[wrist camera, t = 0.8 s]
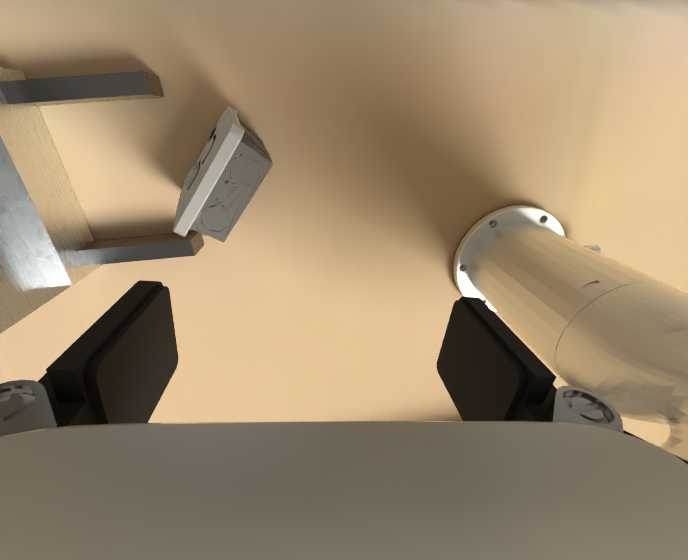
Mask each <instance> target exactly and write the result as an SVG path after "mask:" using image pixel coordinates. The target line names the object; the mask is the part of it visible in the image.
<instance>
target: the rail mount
mask: <svg viewBox="0 0 688 560" xmlns="http://www.w3.org/2000/svg"><path fill="white" fill-rule="evenodd" d="M156 97H164V94H163V91H162V87H161V83H160V79H159V77H158V76H155V75H152V74H148V73H145V72H131V73H116V74H102V75H87V76H73V77H58V78H44V79H29V80H27V79H26V77H25V74H24V72H23V71H18V70H12V69H7V68H1V67H0V333H2V332H3V331H5V330H6V329H8V328H9V327H11V326H12V325H14V324H15V323H17V322H18V321H20V320H21V319H23V318H24V317H26V316H27V315H29V314H30V313H32V312H33V311H34V310H36V309H37V308H39V307H40V306H42V305H43V304H45V303H46V302H48V301H49V300H51V299H52V298H54V297H55V296H57V295H58V294H60V293H61V292H63V291H64V290H66V289H67V288H68V287H70V286H71V285H73V284H75V283H76V282H78V281H79V280H81V279H82V278H84V277H85V276H86V275H88V274H89V273H91V272H92V271H94V270H95V269H97V268H98V267H100V266H101V265H103V264H109V263H120V262H130V261H141V260H152V259H163V258H173V257H184V256H195V255H196V254H197V252H198V251H199V250H200V249H201V248H202V247H203V246H204V242H203V239H202V235H201V234H200V233H199V232H197V231H196V232H187V234H186V236H181V235H179V234H177V233H174V234H162V235H151V236H140V237H129V238H118V239H107V240H96V241H95V240H94V238H93V236H92V233H91V231H90V229H89V226H88V224H87V221H86V219H85V217H84V214H83V212H82V210H81V207H80V205H79V202H78V200H77V198H76V195H75V193H74V191H73V188H72V186H71V183H70V181H69V179H68V176H67V174H66V172H65V169H64V167H63V165H62V162H61V160H60V157H59V155H58V153H57V150H56V148H55V146H54V143H53V141H52V138H51V136H50V134H49V131H48V129H47V127H46V124H45V122H44V119H43V117H42V115H41V112H40V110H39V108H38V106H46V105H59V104H73V103H87V102H101V101H115V100H129V99H143V98H156Z"/></svg>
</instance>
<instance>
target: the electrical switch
mask: <svg viewBox="0 0 688 560" xmlns="http://www.w3.org/2000/svg"><path fill="white" fill-rule="evenodd" d="M237 114H238V111H237V110H235V109H233V108H232V107H230V106H228V107H227V108H226V110H225V111H224V112H223V114H222V115H221V117H220V119H219V121H218V123H217V125H216V127H215V128H214V130H213V132H212V134H211V136H210V138H209V140H208V141H207V143H206V145H205V147H204V149H203V151H202V152H201V154H200V156H199V158H198V160H197V162H196V164H195V165H194V166H192V168H191V169H190V171H189V172H188V174H187V176H186V178H185V179H184V182H183V184H184V186H183V188H182V191H181V194H180V198H179V202H178V207H177V211H176V216H175V222H174V227H173V232H175V233H177V234H179V235H181V236H186V234H187V232H188V231H189V229H191V230H194V231H197V232H199V233H200V234H203V235H208V236H211V237H213V238H215V239H217V240H220V241H222V242H224V241H225V240H226V238H227V236H228V235H229V233H230V232H231V230H232V228H233V227H234V225H235V224H236V222H237V220H238V219H239V217H240V216H241V214H242V212H243V211H244V209H245V208H246V206H247V204H248V203H249V201H250V200H251V198H252V197H253V195H254V193H255V192H256V190H257V189H258V187H259V185H260V184H261V182H262V181H263V179H264V177H265V176H266V174H267V173H268V171H269V169H270V168H271V166H272V165H273V164H272V163H273V162H272V160H271V158H270V156H269V154H268V152H267V150H266V148H265V146H264V144H263V142H262V140H261V139H259V138H258V137H256V136H255V135H254V134H252V133H251V132H250V131H251V130H249V129H247V128H245V127H244V126H242V125H241V124H240V122H239V119H238V116H237ZM260 155H261V156H260ZM263 157H264V158H263ZM265 158H266V159H267V160H266V159H265ZM268 160H269V161H271V162H272V163H271V162H269V161H268ZM234 184H237V185H239V186H234ZM223 204H225V205H226V206H225V205H223ZM228 225H229V226H228Z"/></svg>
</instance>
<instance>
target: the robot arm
mask: <svg viewBox="0 0 688 560" xmlns="http://www.w3.org/2000/svg"><path fill="white" fill-rule="evenodd" d="M490 221H491V222H490ZM461 265H462V266H461ZM453 274H454V280H455V283H456V286H457V288H458V289H459V291H460V293H461V294H462V295H463V296H464V297H461V298H460V299H459V300H457V301H455V303H454V305H453V308H452V312H451V315H450V319H449V322H448V326H447V329H446V333H445V336H444V340H443V343H442V347H441V350H440V354H439V357H438V361H437V371H438V373H439V375H440V377H441V379H442V381H443V383H444V385H445V387H446V389H447V391H448V393H449V395H450V396H451V398H452V400H453V402H454V404H455V406H456V408H457V410H458V412H459V414H460V416H461V418H462V420H463V421H348V422H198V423H148V421H149V419H150V417H151V415H152V413H153V411H154V409H155V407H156V406H157V404H158V402H159V400H160V398H161V396H162V394H163V392H164V390H165V388H166V387H167V385H168V383H169V381H170V379H171V377H172V375H173V373H174V371H175V369H176V367H177V364H178V352H177V344H176V337H175V330H174V322H173V315H172V307H171V300H170V293H169V289H168V287H166V286H163V285H162V283H161V282H158V281H138V282H137V283H136V284H135V285H134V286H133V287H132V288H130V289H129V290H128V291H127V292H126V293H125V294H124V295H123V296H122V297H121V298H120V299H119V300H118V301H117V302H116V303H115V304H114V305H113V306H112V307H111V308H110V309H109V310H108V311H107V312H105V313H104V314H103V315H102V316H101V317H100V318H99V319H98V320H97V321H96V322H95V323H94V324H93V325H92V326H91V327H90V328H89V329H88V330H87V331H86V332H85V333H84V334H83V335H81V336H80V337H79V338H78V339H77V340H76V341H75V342H74V343H73V344H72V345H71V346H70V347H69V348H68V349H67V350H66V351H65V352H64V353H63V354H62V355H61V356H60V357H59V358H58V359H56V360H55V361H54V362H53V363H52V364H51V365H50V366H49V367H48V368H47V369H46V371H47V373H46V374H45V375H44V376H43V377H42V378H41V379H40V380H39V381H38V382H36V381H33V380H17V381H9V382H5V383H2V384H0V560H688V294H686V293H684V292H682V291H680V290H678V289H676V288H673V287H671V286H669V285H667V284H665V283H663V282H660V281H658V280H656V279H654V278H652V277H650V276H647V275H645V274H643V273H641V272H639V271H637V270H634V269H632V268H630V267H628V266H626V265H624V264H621V263H619V262H617V261H615V260H613V259H611V258H608V257H606V256H604V255H602V254H600V248H599V247H598V246H597V245H589V246H582V245H580V244H578V243H576V242H574V241H571V240H569V239H567V238H566V236H565V233H564V230H563V227H562V226H561V224H560V223H559V221H558V220H557V219H556V218H555V217H554V216H552V215H551V214H550V213H548V212H546V211H544V210H542V209H539V208H536V207H533V206H526V205H516V206H509V207H505V208H501V209H499V210H496V211H494V212H492V213H490V214H488V215H487V216H485V217H484V218H482V219H481V220H479V221H478V222H477V223H476V224H475V225H474V226H473V227H472V228H471V229H470V230H469V231H468V232H467V234H466V235H465V236H464V238H463V239H462V241H461V243H460V245H459V247H458V249H457V252H456V255H455V258H454V265H453ZM493 311H497V312H498V313H499V314H500V315H501V316H502V317H503V318H504V319H505V320H506V321H507V322H508V323H509V324H510V325H511V326H512V327H513V329H514V330H515V331H516V332H517V333H518V334H519V335H520V336H521V337H522V338H523V339H524V340H525V341H526V342H527V343H528V344H529V345H530V346H531V347H532V348H533V349H534V350H535V351H536V352H537V353H538V354H539V355H540V357H541V358H542V359H543V360H544V361H545V362H546V363H547V364H548V365H549V366H550V367H551V368H552V369H553V370H554V371H555V372H556V373H557V374H558V375H559V376H560V377H561V378H562V379H563V380H564V381H565V382H566V383H567V384H568V385H569V386H562V387H560V388H558V389H556V388H555V387H554V386H553V382H554V380H555V378H556V376H555V375H554V374H553V373H552V372H551V371H550V370H549V369H548V368H547V367H546V366H545V365H544V364H543V363H542V362H541V361H540V360H539V359H538V358H537V357H536V355H535V354H534V353H533V352H532V351H531V350H530V349H529V348H528V347H527V346H526V345H525V344H524V343H523V342H522V341H521V340H520V339H519V338H518V337H517V336H516V335H515V334H514V333H513V332H512V331H511V330H510V329H509V327H508V326H507V325H506V324H505V323H504V322H503V321H502V320H501V319H500V318H499V317H498V316H497V315H496V314H495V313H494V312H493ZM620 416H621V417H625V418H629V419H634V420H640V421H646V422H653V423H660V424H668V425H669V426H670V434H669V436H668V438H667V439H666V441H665V442H664V443H663V444H662V445H661V446H660V447H658V446H656V445H654V444H651V443H649V442H647V441H645V440H643V439H641V438H639V437H637V436H635V435H633V434H631V433H628V432H626V431H624V430H623V424H622V419H621V417H620Z"/></svg>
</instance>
